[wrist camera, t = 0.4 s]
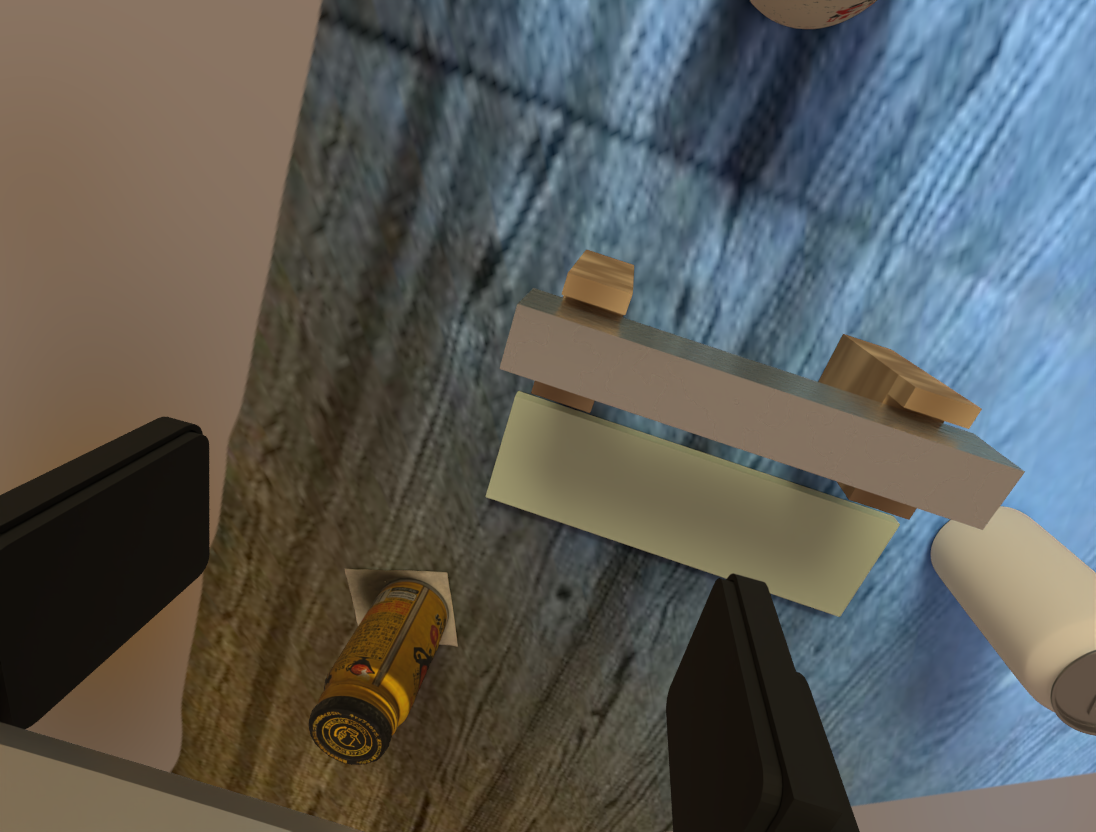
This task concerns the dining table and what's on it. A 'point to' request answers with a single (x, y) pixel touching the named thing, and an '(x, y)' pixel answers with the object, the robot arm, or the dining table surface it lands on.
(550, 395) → the post
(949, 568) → the can
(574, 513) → the mat
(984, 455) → the rail
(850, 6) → the teacup with lid
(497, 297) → the dining table surface
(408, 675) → the condiment
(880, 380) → the post
